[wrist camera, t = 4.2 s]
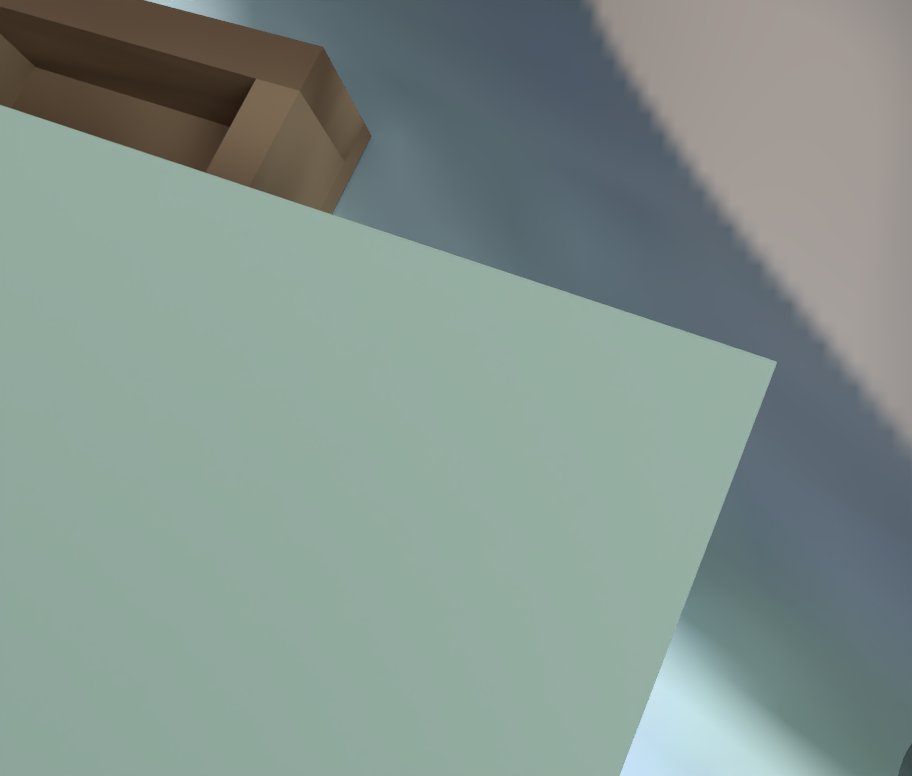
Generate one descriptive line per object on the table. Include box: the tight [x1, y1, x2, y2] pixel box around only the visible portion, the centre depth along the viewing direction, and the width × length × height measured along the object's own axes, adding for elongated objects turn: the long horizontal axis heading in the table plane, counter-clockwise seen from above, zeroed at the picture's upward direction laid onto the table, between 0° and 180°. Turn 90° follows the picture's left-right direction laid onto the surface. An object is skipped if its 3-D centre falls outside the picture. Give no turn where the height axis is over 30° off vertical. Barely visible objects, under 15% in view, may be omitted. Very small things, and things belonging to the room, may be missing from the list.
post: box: [0, 105, 777, 776], centre depth 9 cm, size 4×4×13 cm
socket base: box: [0, 0, 371, 214], centre depth 18 cm, size 10×10×3 cm
